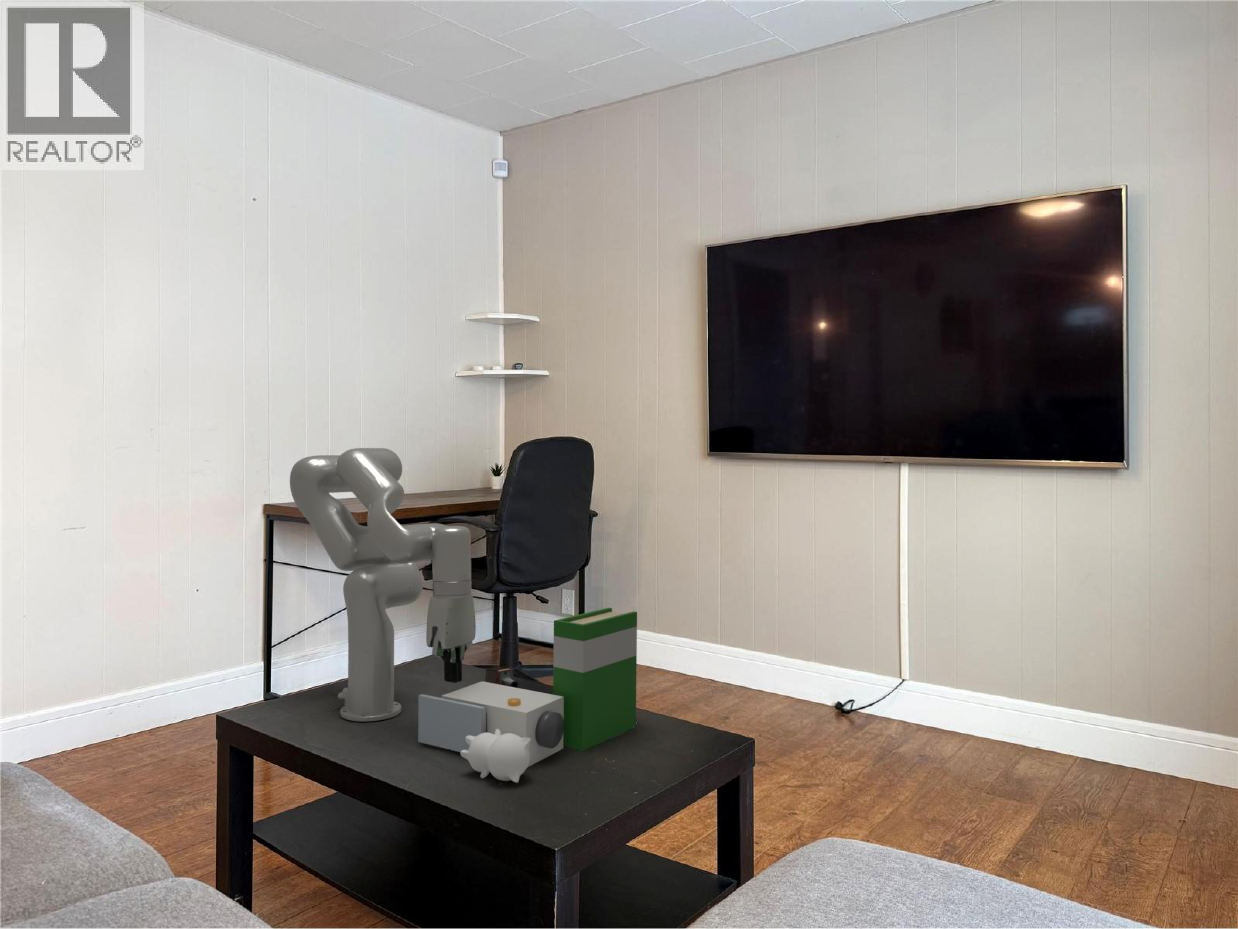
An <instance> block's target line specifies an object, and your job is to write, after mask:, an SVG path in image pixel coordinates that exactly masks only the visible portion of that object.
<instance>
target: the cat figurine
mask: <svg viewBox="0 0 1238 929" xmlns="http://www.w3.org/2000/svg"><path fill="white" fill-rule="evenodd" d="M465 740H466V742H467V743H468V744H469V745H470V747H469V750H462V751H461V752H459V753H460V756H461V757H462V758H463V759H466V760H467V761H468V762H469V765H470V766H471V768H472V770H474V771H476V772H478V773H480V776H479V777H480V779H485V778H486V777H487V776H488V775H489V774H490V773H491V775H492V776H493V777H494V778H495V779H497V780H498V781H503V782H509V781H512V782H514V783H515V784H516V783H517V784H518V783H519V781H520V778H521V775H523V774H524V773H525V771H526V770H527V768H528V767H527V766H528V764H529V759H530V754H529V746H530V743H531V738H521V737H519V736H518V735H515V734H512V733H506V734H503V735H501V732H500V730H499V729H496V731H495V734H491V733H481V734H479V735H478V736H470V735H468V736H466V738H465Z"/></svg>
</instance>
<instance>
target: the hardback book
mask: <svg viewBox="0 0 1238 929" xmlns="http://www.w3.org/2000/svg"><path fill="white" fill-rule="evenodd" d="M637 637H638V611H630V612H626V613H619V612H613V608H612V607H605V608H601V609H596V610H592V611H588V612H584V613H581V614H577V615H573V616H572V615H571V616H568V617H563V618H560V619H559V618H558V619H554V620H553V658H552V659H553V662H552V663H553V667H552V668H553V671H552V673H553V674H552V678H553V679H552V681H553V682H552V683H553V684H552V695H557V696H563V697H564V731H563V747H565V746H566V747H565V748H569V749H572V750H573V749H574V750H576V749H577V750H576V751H581V752H584V751H586V750H588V748H589V749H591V748H593V747H595V746H598V745H599V743H600V744H602V743H604V742H606V741H605V740H607V739H609V740H611V739H613V738H612V737H614V736H616V737H617V736H620V735H622V734H621V733H623V732H625V733H627V732H629V731H628V730H629V729H632V728H633V727H635V726H636V727H637V724H636V723H637V667H638V666H637V662H638V661H637V658H638V656H637V653H638V652H637V650H638V648H637V646H638V642H637V641H638V638H637ZM632 730H633V729H632ZM626 731H627V732H626ZM619 734H620V735H619ZM623 734H624V733H623ZM610 738H611V739H610ZM614 738H615V737H614ZM607 741H608V740H607ZM597 744H598V745H597ZM592 746H593V747H592ZM590 747H591V748H590ZM585 749H586V750H585Z"/></svg>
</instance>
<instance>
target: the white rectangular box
mask: <svg viewBox="0 0 1238 929" xmlns="http://www.w3.org/2000/svg"><path fill="white" fill-rule="evenodd" d="M441 698H443V699H448V700H453V701H458V702H463V703H468V704H472V705H477V706H482V707H486V733H491V734H495V731H496V729H499V730H500V732H501V735H503V734H506V733H512V734H515V735H518V736H519V737H521V738H531V743H530V746H529V754H530V759H529V764H528V766H527V768H529V767H532V766H533V765H534V764H536V763H538V762H541V761H542V760H545V759H546V758H548V757H550V756H552V755H554V754H555V753H558V752H559V751H561V749H562V750H563V749H564V746H563V731H564V697H563V696H557V695H553V693H552V694H550V693H547V692H546V693H545V692H542V691H541V692H540V691H535V690H530V689H524V688H519V687H518V688H515V687H509V686H504V685H499V684H493V683H488V682H485V681H478V682H476V683H473V684H470V685H468V686H464V687H462V688H460V689H457V690H454V691H451V692H447V693H445V694H442V695H441ZM444 749H445V750H447V749H446V748H444Z"/></svg>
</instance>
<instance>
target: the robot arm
mask: <svg viewBox="0 0 1238 929" xmlns="http://www.w3.org/2000/svg"><path fill="white" fill-rule="evenodd" d="M289 474H290V475H289V485H290V486H289V488H290V492H291V496H292V500H293V502H294V503H295V506H296V507H297V509H298V510H299V511H300V513H301V514H302V515H303V517H304V518H305V519H306V520H307V522H309V524H310V525H311V527H312V529H313V530H314V531H315V534H316V535H317V537H318V540H319V541H320V543H321V545H322V546H323V548H324V549H325V551H326V553H327V555H328V556H329V558H330V560H331V562H332V563H333V564H334V566H335V567H336V568H337V569H339V570H341V571H343V572H350V573H348V575H347V576H346V578H345V579H344V583H343V589H342V590H343V598H344V603H345V608H346V615H347V629H348V630H347V642H348V643H347V644H348V645H347V647H348V648H347V649H348V650H347V652H348V653H347V672H348V673H347V687H344V688H343V689H342V691H341V692H338V694H337V698H338V699H339V700H344V705H343V706H342V707H341V708H340V712H339V715H340V717H341V718H343V719H344V720H348V721H351V722H360V723H361V722H362V723H363V722H367V723H368V722H376V721H378V722H379V721H382V720H388V719H391V718H394V717H396V716H399V715H400V714H401V712H402V705H401V704H400V703H399V702H398V701H395V629H394V625H393V622H392V621H391V619H390V617H389V615H388V614H387V611H386V610H387V609H390V608H396V607H402V606H406V605H411V604H412V603H414V602H416V601H417V600H418V599H420V597H421V595H422V593H423V588H424V584H423V582H424V581H423V578H422V574H421V572H420V570H419V568H418V566H417V564H416V563H420V562H430V561H432V563H431V564H432V597H430V598H429V603H428V610H427V614H426V632H425V635H426V638H425V640H426V641H425V642H426V646H427V647H428V648H432V650H431V654H432V656H434V657H440V658H441V661H442V662H443V666H444V667H443V668H444V669H443V671H444V672H443V674H444V675H443V677H444V678H443V679H444V682H447V683H453V684H457V683H459V682H462V681H463V667H462V666H463V664H462V662H463V661H464V659H465V653H466V651H467V650H468V649H470V648H472V646H473V644H474V643H473V642H474V640H475V638H476V632H477V631H476V630H477V629H476V627H477V626H476V610H475V609H476V608H475V603H474V597H473V593H472V584H473V583H472V548H471V546H472V539H471V538H472V537H471V530H470V529H469V528H468V527H466V526H461V525H445V524H444V523H443V524H442V523H435V522H433V523H419V524H416V523H415V524H408V525H407V524H406V525H402V524H400V523H399V522H398V521H397V520H396V518H394V516H393V515H392V514H393V513H394V512H396V510H397V509H398V508H399V507H400V506H401V504H402V503H403V501H404V498H405V490H404V487H403V485H401V484H400V483H399V480H400V479H401V476H402V474H403V464H402V461H401V459H400V457H399V456H398V454H397V453H395V452H394V451H393V450H392V449H389V448H383V447H382V448H381V447H378V448H377V447H356V448H355V447H354V448H351V449H348V450H345V451H344V452H343V453H341V454H340V455H339V454H337V455H334V454H333V455H331V454H330V455H329V454H328V455H327V454H326V455H325V454H324V455H323V454H321V455H311V456H306V457H303V458H301V459H299V460H297V461H296V462H295V463H294V465H293V466H292V468H291V471H290V473H289ZM330 493H331V494H330ZM332 493H335V494H338V493H352V494H353V495H354V496H355V497H356V498H357V499H358V500H359V502H360V504H362V505H363V506H364V508H366V509H367V511H368V512H367V519H366V520H367V522H366V523H367V526H366V525H365V526H364V525H360V524H359V523H358V522H357V521H356V519H355V518H354V516H353V514H352V512H351V511H350V510H349V509H348V507H347V506H346V505H345V504H343V502H341V501H340V500H338V499H337V498H335V497H334V496H332Z"/></svg>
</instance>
